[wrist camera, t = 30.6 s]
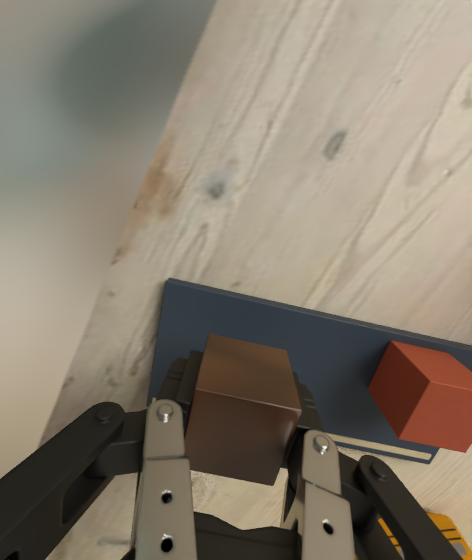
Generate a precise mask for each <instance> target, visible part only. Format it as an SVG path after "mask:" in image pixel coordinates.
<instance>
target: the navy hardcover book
mask: <svg viewBox="0 0 472 560" xmlns="http://www.w3.org/2000/svg"><path fill="white" fill-rule="evenodd" d="M208 334H214V335H219V336H224V337H228V338H233V339H237V340H242V341H246V342H251V343H256V344H260V345H265V346H269V347H274V348H279V349H283V350H286V351H287V355H288V358H289V362H290V366H291V370H292V372H296V373H297V376H298V380H299V383H300V384H305V385H306V387H307V388H308V389H309V390H310V392H311V393H312V397H313V400H314V403H315V406H316V409H317V412H318V415H319V418H320V421H321V424H322V427H323V430H324V433H325V434H327V435H328V436H329V437H331V438H332V440H333V441H334V442H335V443H336V445H337V446H341V447H346V448H351V449H356V450H361V451H366V452H370V453H375V454H380V455H385V456H390V457H395V458H400V459H405V460H410V461H415V462H420V463H424V464H430V463H431V461H432V460H433V458H434V456H435V455H436V453H437V452H438V450H439V448H440V447H435V446H430V445H425V444H420V443H416V442H411V441H406V440H401V439H398V438H397V436H396V434H395V433H394V431H393V430H392V428H391V426H390V425H389V423H388V422H387V420H386V418H385V417H384V415H383V413H382V412H381V410H380V409H379V407H378V405H377V404H376V402H375V400H374V399H373V397H372V396H371V394H370V392H369V391H368V387H369V385H370V383H371V381H372V379H373V376H374V374H375V372H376V370H377V368H378V366H379V364H380V362H381V359H382V357H383V355H384V353H385V351H386V349H387V347H388V344H389V342H390V341H391V340H392V341H396V342H401V343H405V344H410V345H414V346H419V347H423V348H428V349H432V350H437V351H441V352H446V353H449V354H450V355H451V356H452V357H454V358H455V359H456V360H457V361H459V362H460V363H461V364H462V365H464V366H465V367H466V368H467V369H469V370H470V371H471V372H472V346H470V345H465V344H461V343H457V342H452V341H448V340H443V339H439V338H434V337H430V336H425V335H421V334H417V333H412V332H408V331H403V330H399V329H394V328H390V327H386V326H381V325H377V324H372V323H368V322H363V321H359V320H355V319H350V318H346V317H341V316H337V315H332V314H328V313H323V312H319V311H315V310H310V309H306V308H301V307H297V306H292V305H288V304H284V303H279V302H275V301H270V300H266V299H261V298H257V297H253V296H248V295H244V294H239V293H235V292H230V291H226V290H222V289H217V288H213V287H208V286H204V285H199V284H195V283H190V282H186V281H182V280H177V279H173V278H168V280H167V281H166V283H165V290H164V296H163V302H162V309H161V315H160V322H159V328H158V335H157V341H156V347H155V354H154V360H153V367H152V373H151V380H150V386H149V392H148V399H147V405H146V406H147V407H149V406H150V405H151V404H152V403H153V402H155V401H156V399H157V397H158V394H159V392H160V389H161V387H162V385H163V382H164V380H165V378H166V375H167V373H168V371H169V368H170V366H171V363H172V362H173V361H175V360H176V359H177V358H178V357H179V358H183V359H188V357H189V354H190V351H191V350H195V351H200V352H204V349H205V345H206V341H207V337H208Z"/></svg>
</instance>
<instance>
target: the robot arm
mask: <svg viewBox="0 0 472 560" xmlns="http://www.w3.org/2000/svg"><path fill="white" fill-rule="evenodd" d="M203 354H204V352H200V351H195V350H191V351H190V354H189V357H188V359H183V358H179V357H178V358H177V359H176V360H175V361H173V362H172V363H171V366H170V368H169V371H168V373H167V375H166V378H165V380H164V382H163V385H162V387H161V389H160V392H159V394H158V397H157V399H156V401H155V402H153V403H152V404H151V405H150V406H149V407H148V408H147V409H145V410H142V411H138V412H127V413H125V412H124V409H123V408H122V407H121V406H120V405H119V404H117V403H114V402H102V403H98V404H96V405H94V406H92V407H91V408H89V409H88V410H87V411H85V412H84V413H83V414H82V415H80V416H79V417H78V418H77V419H75V420H74V421H73V422H72V423H70V424H69V425H68V426H66V427H65V428H64V429H63V430H61V431H60V432H59V433H58V434H56V435H55V436H54V437H53V438H51V439H50V440H49V441H48V442H46V443H45V444H44V445H42V446H41V447H40V448H39V449H37V450H36V451H35V452H34V453H32V454H31V455H30V456H29V457H27V458H26V459H25V460H24V461H22V462H21V463H20V464H19V465H17V466H16V467H15V468H13V469H12V470H11V471H10V472H8V473H7V474H6V475H5V476H3V477H2V478H1V479H0V560H45V559H46V558H47V557H48V555H49V554H50V553H51V552H52V551H53V549H54V548H55V547H56V546H57V545H58V544H59V542H60V541H61V540H62V539H63V538H64V536H65V535H66V534H67V533H68V532H69V530H70V529H71V528H72V527H73V526H74V524H75V523H76V522H77V521H78V520H79V519H80V517H81V516H82V515H83V514H84V513H85V511H86V510H87V509H88V508H89V507H90V505H91V504H92V503H93V502H94V501H95V499H96V498H97V497H98V496H99V495H100V494H101V492H102V491H103V490H104V489H105V488H106V486H107V485H108V484H109V483H110V482H111V480H112V479H113V478H114V477H115V476H116V475H122V474H129V473H136V472H138V475H137V485H136V495H135V505H134V515H133V523H132V531H131V540H130V549H129V552H128V553H127V554H126V555H125V556H124V557H123V558H122V559H121V560H356V559H355V554H356V556H357V557H358V559H359V560H403V558H402V557H401V555H400V554H399V552H398V551H397V549H396V548H395V546H394V544H393V543H392V541H391V540H390V538H389V537H388V535H387V534H386V532H385V531H384V529H383V527H382V526H381V524H380V523H379V521H378V520H379V518H380V516H381V518H382V519H383V521H384V522H385V524H386V525H387V527H388V528H389V530H390V531H391V533H392V534H393V536H394V538H395V539H396V541H397V542H398V544H399V545H400V547H401V549H402V552H403V555H404V560H464V559H463V558H462V557H461V556H460V554H459V553H458V552H457V551H456V549H455V548H454V547H453V546H452V544H451V543H450V542H449V541H448V539H447V538H446V537H445V536H444V534H443V533H442V532H441V531H440V529H439V528H438V527H437V526H436V525H435V523H434V522H433V521H432V520H431V518H430V517H429V516H428V515H427V513H426V512H425V511H424V510H423V508H422V507H421V506H420V505H419V503H418V502H417V501H416V500H415V498H414V497H413V496H412V495H411V493H410V492H409V491H408V490H407V488H406V487H405V486H404V485H403V483H402V482H401V481H400V480H399V478H398V477H397V476H396V475H395V473H394V472H393V471H392V470H391V468H390V467H389V466H388V465H387V464H386V463H384V462H383V461H382V460H380V459H378V458H377V457H374V456H371V455H364V456H362V457H361V458H360V460H359V461H356V460H354V459H352V458H350V457H348V456H346V455H344V454H342V453H341V452H339V451H338V448H337V445H336V443H335V442H334V441H333V440H332V438H331V437H329V436H328V435H327V434H325V433H324V430H323V427H322V424H321V421H320V418H319V415H318V412H317V409H316V406H315V403H314V400H313V397H312V393H311V392H310V390H309V389H308V388H307V387H306V385H305V384H300V383H299V380H298V376H297V373H296V372H292V374H293V377H294V381H295V385H296V389H297V392H298V396H299V400H300V404H301V408H302V413H301V416H300V418H299V421H298V424H297V426H296V429H295V431H294V434H293V436H292V439H291V442H290V444H289V447H288V449H287V452H286V455H285V457H284V460H283V462H282V465H281V468H286V469H288V477H287V479H286V483H285V490H284V498H283V506H282V514H281V522H280V528H279V527H273V526H270V527H263V528H256V529H249V530H241V529H238V528H236V527H234V526H232V525H230V524H229V523H227V522H225V521H223V520H221V519H219V518H217V517H215V516H213V515H210V514H204V513H199V512H194V511H193V498H192V485H191V472H190V461H189V457H188V456H186V455H185V442H184V435H185V430H186V426H187V421H188V417H189V412H190V408H191V403H192V399H193V394H194V390H195V386H196V382H197V378H198V374H199V370H200V366H201V362H202V358H203Z"/></svg>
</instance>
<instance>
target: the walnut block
mask: <svg viewBox="0 0 472 560" xmlns="http://www.w3.org/2000/svg"><path fill="white" fill-rule="evenodd" d="M301 413H302V408H301V404H300V400H299V396H298V392H297V389H296V385H295V381H294V377H293V374H292V370H291V366H290V362H289V358H288V355H287V351H286V350H283V349H279V348H274V347H269V346H265V345H260V344H256V343H251V342H246V341H242V340H237V339H233V338H228V337H224V336H219V335H214V334H208V337H207V341H206V345H205V349H204V354H203V358H202V362H201V366H200V370H199V374H198V378H197V382H196V386H195V390H194V394H193V399H192V403H191V408H190V412H189V417H188V421H187V426H186V430H185V435H184V442H185V455H186V456H188V457H189V461H190V470H193V471H198V472H204V473H209V474H214V475H219V476H224V477H229V478H234V479H239V480H245V481H250V482H255V483H260V484H265V485H270V486H273V485H274V483H275V480H276V478H277V475H278V473H279V470H280V467H281V465H282V462H283V460H284V457H285V455H286V452H287V449H288V447H289V444H290V442H291V439H292V436H293V434H294V431H295V429H296V426H297V424H298V421H299V418H300V416H301Z"/></svg>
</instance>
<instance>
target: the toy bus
mask: <svg viewBox="0 0 472 560" xmlns="http://www.w3.org/2000/svg"><path fill="white" fill-rule="evenodd" d="M427 515H428V516H429V517H430V518H431V520H432V521H433V522H434V523H435V525H436V526H437V527H438V528H439V529H440V531H441V532H442V533H443V534H444V536H445V537H446V538H447V539H448V541H449V542H450V543H451V544H452V546H453V547H454V548H455V549H456V551H457V552H458V553H459V554H460V556H461V557H462V558H463V559H464V560H472V551H471V549H470V548H469V546H468V544H467V543H466V541H465V540H464V538H463V537H462V535H461V533H460V532H459V530H458V529H457V527H456V526H455V524H454V523H453V521H452V520H451V519H450V518H449V517H448V516H446V515H442V514H435V513H427ZM378 521H379V523H380V524H381V526H382V527H383V529H384V531H385V532H386V534H387V535H388V537H389V538H390V540H391V541H392V543H393V544H394V546H395V548H396V549H397V551H398V552H399V554H400V555H401V557H402V558H403V560H404V555H403V552H402V549H401V547H400V545H399V544H398V542H397V541H396V539H395V538H394V536H393V534H392V533H391V531H390V530H389V528H388V527H387V525H386V524H385V522H384V521H383V519H382V518H379V520H378ZM355 559H356V560H359V559H358V557H357V556H356V554H355Z"/></svg>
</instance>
